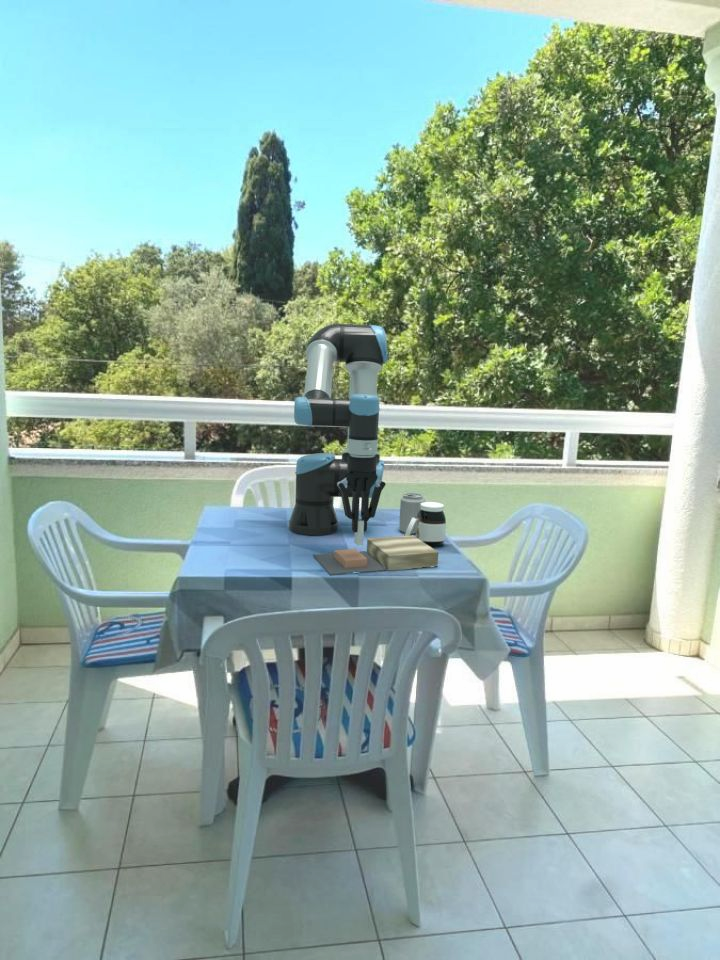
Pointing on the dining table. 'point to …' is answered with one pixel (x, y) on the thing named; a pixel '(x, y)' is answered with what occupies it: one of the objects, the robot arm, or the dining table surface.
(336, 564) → the mat
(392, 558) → the wooden block
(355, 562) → the light brown flat block
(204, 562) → the dining table surface
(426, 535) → the spread jar
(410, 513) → the can
